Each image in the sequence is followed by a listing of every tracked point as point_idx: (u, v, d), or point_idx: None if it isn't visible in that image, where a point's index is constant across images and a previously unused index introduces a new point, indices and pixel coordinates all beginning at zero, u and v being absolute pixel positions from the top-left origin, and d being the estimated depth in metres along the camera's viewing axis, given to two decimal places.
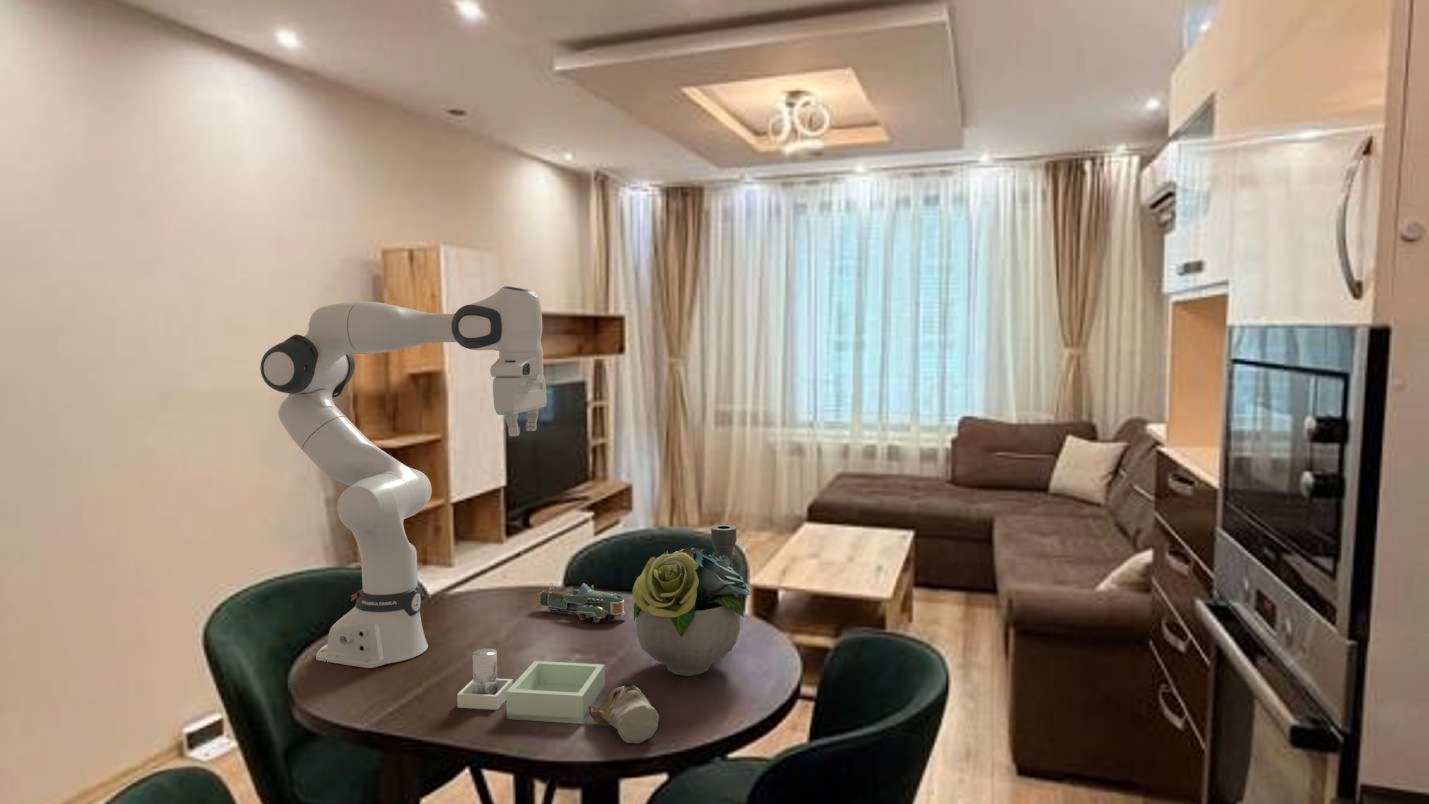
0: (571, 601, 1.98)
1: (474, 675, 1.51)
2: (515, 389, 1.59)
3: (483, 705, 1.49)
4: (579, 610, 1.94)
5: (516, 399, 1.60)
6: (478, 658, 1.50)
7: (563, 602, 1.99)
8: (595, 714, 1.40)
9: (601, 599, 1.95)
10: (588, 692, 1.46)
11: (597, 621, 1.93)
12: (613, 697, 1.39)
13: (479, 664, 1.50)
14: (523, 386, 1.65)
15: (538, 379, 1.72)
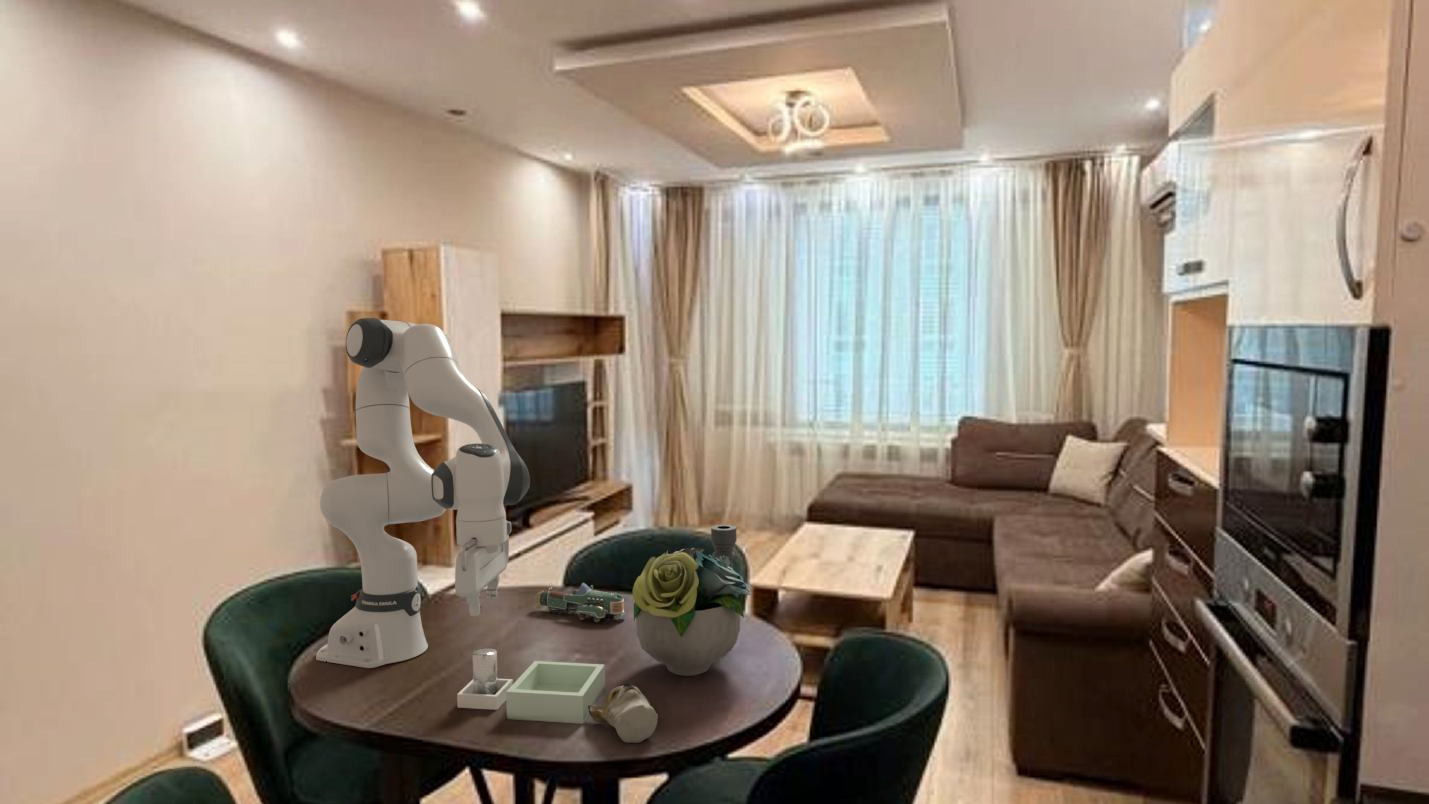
0: (571, 601, 1.98)
1: (474, 675, 1.51)
2: None
3: (483, 705, 1.49)
4: (579, 610, 1.94)
5: None
6: (478, 658, 1.50)
7: (563, 602, 1.99)
8: (594, 713, 1.40)
9: (601, 599, 1.95)
10: (588, 692, 1.46)
11: (597, 621, 1.93)
12: (612, 696, 1.39)
13: (478, 664, 1.50)
14: None
15: None
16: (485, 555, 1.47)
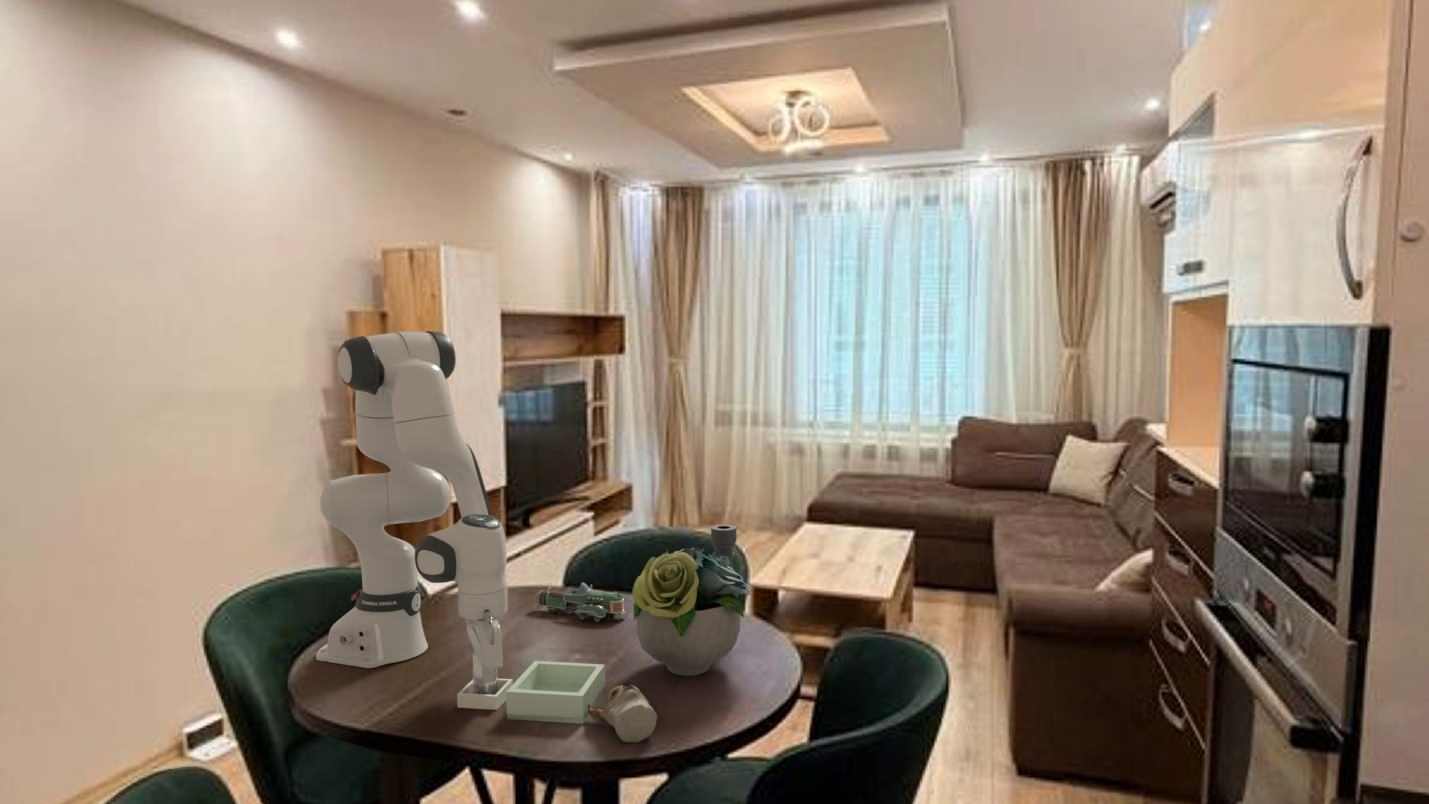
0: (570, 600, 1.98)
1: (474, 675, 1.51)
2: None
3: (483, 705, 1.49)
4: (579, 609, 1.95)
5: (468, 624, 1.58)
6: None
7: (563, 601, 2.00)
8: (593, 713, 1.41)
9: (601, 598, 1.95)
10: (588, 692, 1.46)
11: (597, 620, 1.94)
12: (611, 696, 1.40)
13: (479, 664, 1.50)
14: None
15: (477, 628, 1.46)
16: None
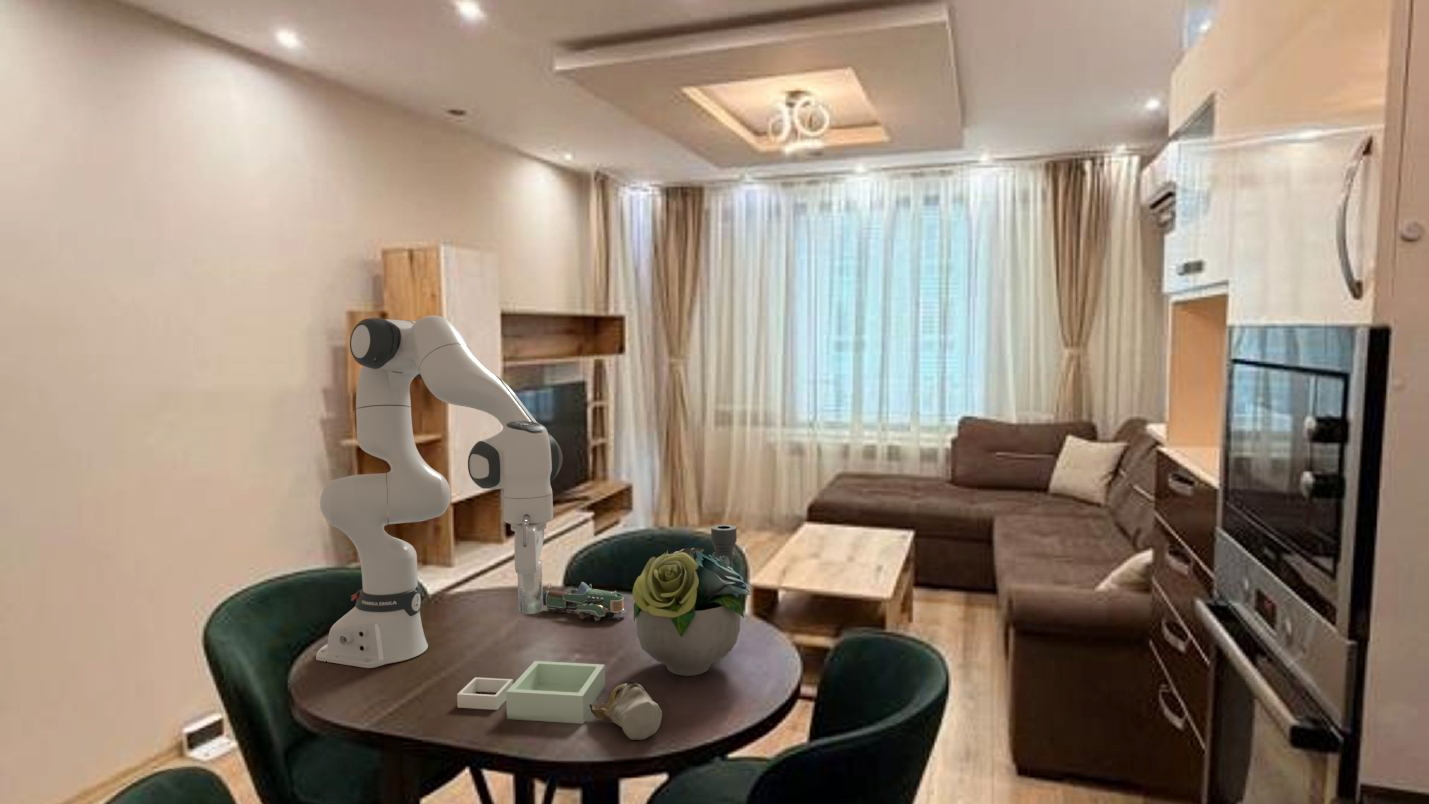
0: (570, 600, 1.99)
1: (518, 583, 1.48)
2: None
3: (483, 705, 1.49)
4: (579, 609, 1.95)
5: None
6: None
7: (562, 601, 2.00)
8: (597, 712, 1.41)
9: (601, 597, 1.96)
10: (588, 692, 1.46)
11: (597, 619, 1.94)
12: (616, 694, 1.40)
13: None
14: None
15: None
16: (537, 532, 1.46)
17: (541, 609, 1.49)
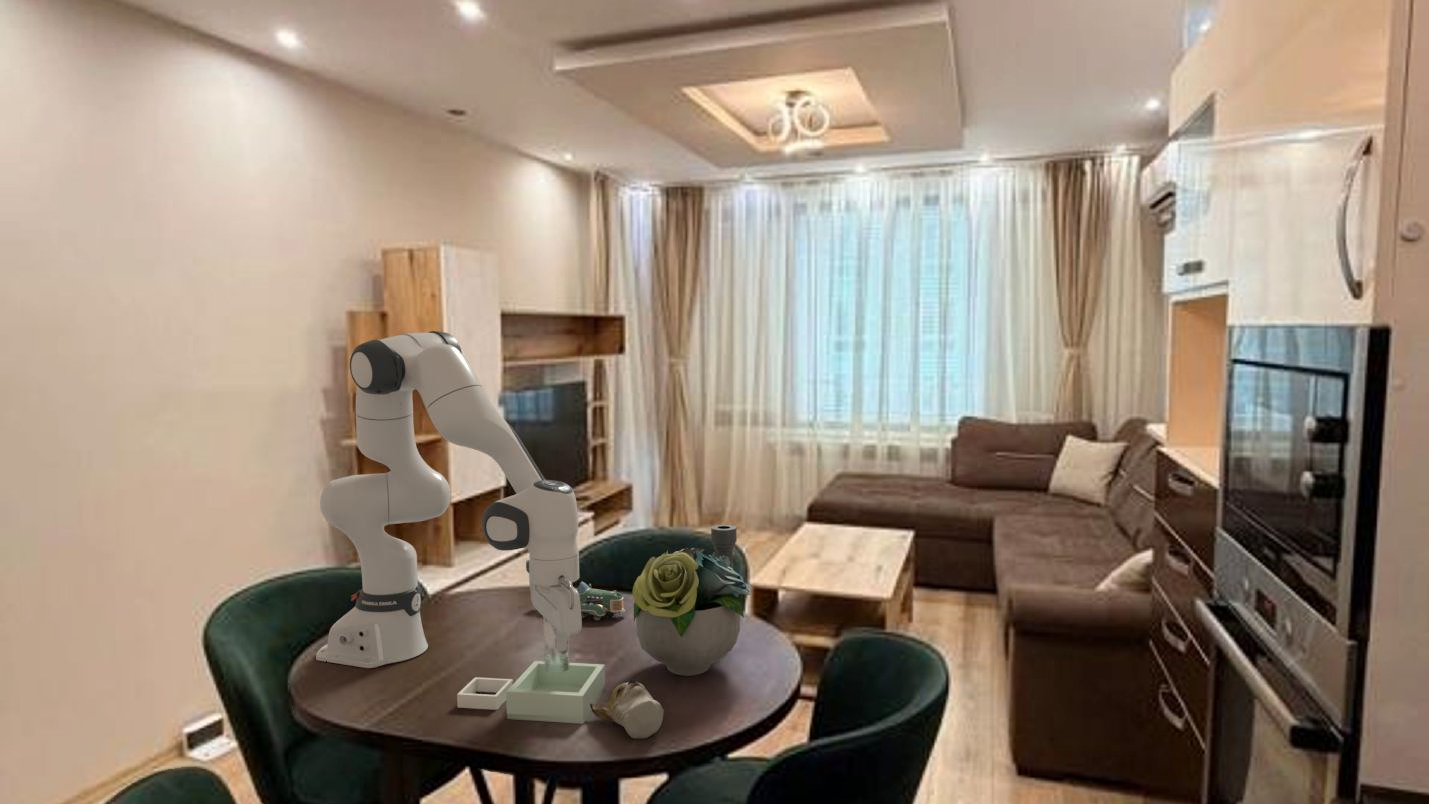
0: None
1: (546, 643, 1.48)
2: (529, 582, 1.56)
3: (483, 705, 1.49)
4: None
5: (534, 594, 1.55)
6: (551, 625, 1.47)
7: None
8: (599, 711, 1.41)
9: (601, 597, 1.96)
10: (588, 692, 1.46)
11: (597, 619, 1.95)
12: (617, 694, 1.40)
13: (551, 632, 1.47)
14: None
15: (552, 594, 1.44)
16: None
17: (568, 666, 1.50)
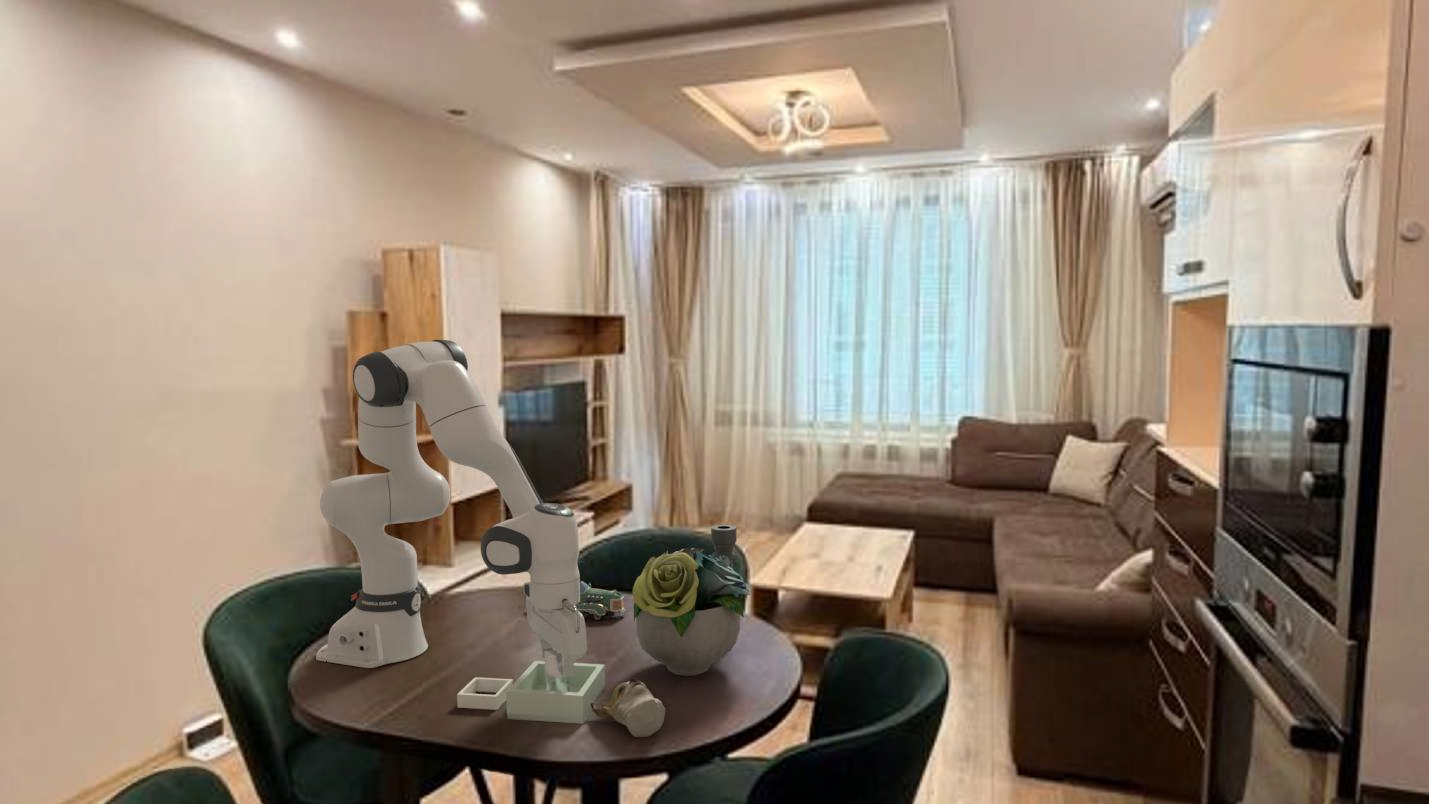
0: None
1: (548, 674, 1.48)
2: (526, 604, 1.56)
3: (483, 705, 1.49)
4: (579, 608, 1.96)
5: (531, 616, 1.55)
6: (553, 656, 1.48)
7: None
8: (600, 711, 1.41)
9: (601, 596, 1.97)
10: (588, 692, 1.46)
11: (597, 618, 1.95)
12: (618, 693, 1.41)
13: (553, 662, 1.48)
14: None
15: (556, 617, 1.44)
16: None
17: None
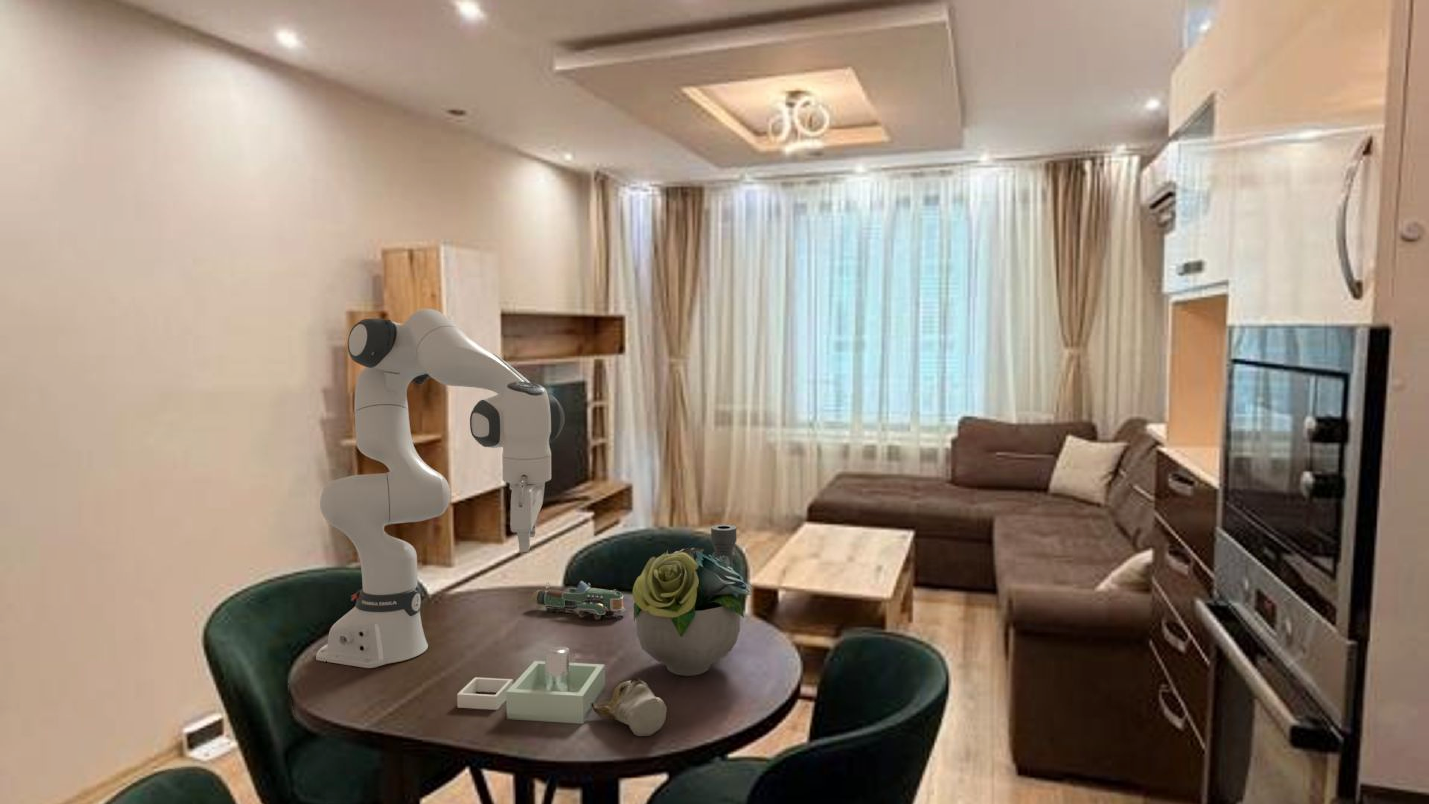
0: (569, 599, 1.99)
1: (548, 673, 1.49)
2: None
3: (483, 705, 1.49)
4: (579, 607, 1.96)
5: None
6: (554, 656, 1.48)
7: (561, 600, 2.01)
8: (601, 710, 1.42)
9: (601, 596, 1.97)
10: (588, 692, 1.46)
11: (598, 618, 1.95)
12: (620, 692, 1.41)
13: (554, 662, 1.48)
14: None
15: None
16: (534, 492, 1.48)
17: None
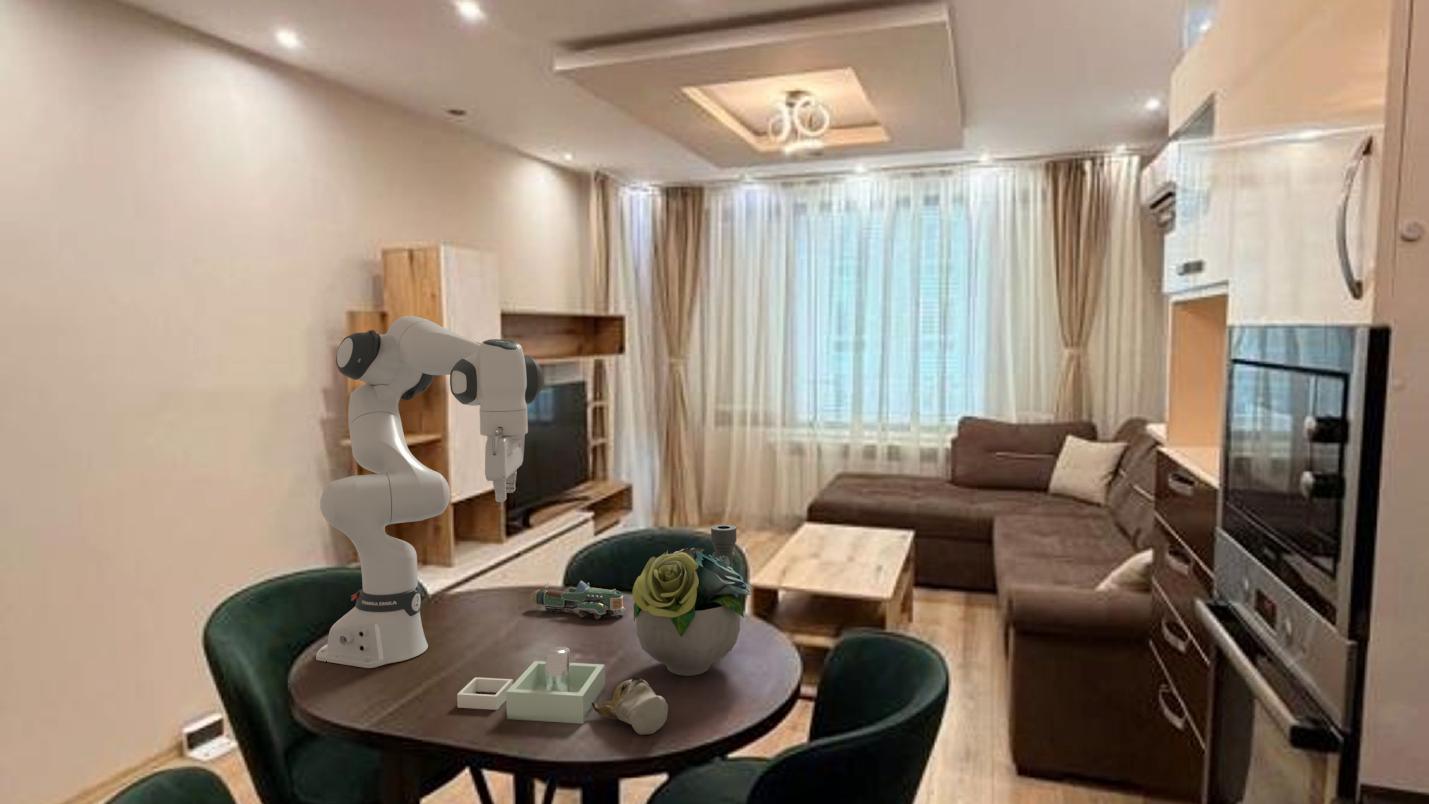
0: (569, 599, 1.99)
1: (548, 674, 1.48)
2: None
3: (483, 705, 1.49)
4: (579, 607, 1.96)
5: None
6: (554, 656, 1.48)
7: (561, 600, 2.01)
8: (602, 710, 1.42)
9: (601, 595, 1.97)
10: (588, 692, 1.46)
11: (598, 617, 1.95)
12: (621, 691, 1.41)
13: (554, 663, 1.48)
14: None
15: None
16: (510, 444, 1.52)
17: None
